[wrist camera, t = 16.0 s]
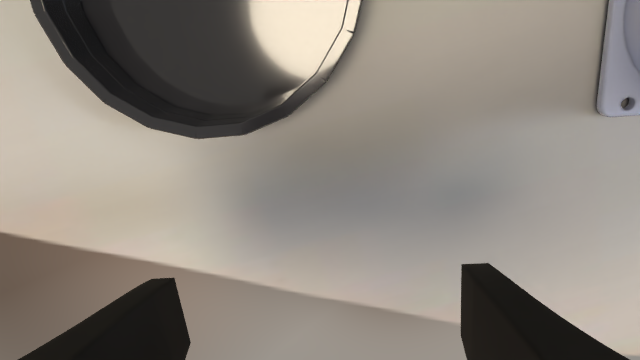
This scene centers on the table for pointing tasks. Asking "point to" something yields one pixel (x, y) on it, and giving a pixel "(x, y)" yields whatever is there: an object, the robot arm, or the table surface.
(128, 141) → the table surface
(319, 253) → the table surface
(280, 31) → the bowl
